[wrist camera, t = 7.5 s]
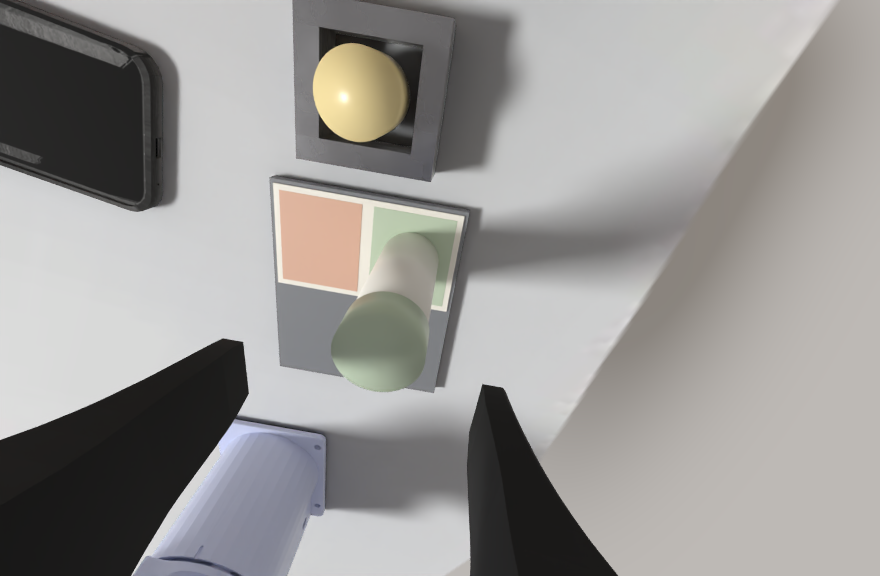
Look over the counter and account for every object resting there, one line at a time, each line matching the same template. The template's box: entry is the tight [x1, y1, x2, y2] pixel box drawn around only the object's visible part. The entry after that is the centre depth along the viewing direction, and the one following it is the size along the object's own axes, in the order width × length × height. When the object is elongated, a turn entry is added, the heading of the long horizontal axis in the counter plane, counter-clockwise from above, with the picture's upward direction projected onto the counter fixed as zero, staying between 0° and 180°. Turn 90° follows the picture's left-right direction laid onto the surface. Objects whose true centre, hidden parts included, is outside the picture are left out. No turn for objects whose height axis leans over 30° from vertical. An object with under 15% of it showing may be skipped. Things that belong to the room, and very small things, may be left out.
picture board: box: [269, 176, 470, 393], centre depth 22 cm, size 12×10×1 cm
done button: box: [313, 43, 410, 142], centre depth 15 cm, size 3×3×2 cm
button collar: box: [293, 0, 456, 182], centre depth 16 cm, size 6×6×2 cm
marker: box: [331, 232, 439, 392], centre depth 16 cm, size 3×3×8 cm
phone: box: [0, 0, 163, 212], centre depth 18 cm, size 8×1×15 cm
